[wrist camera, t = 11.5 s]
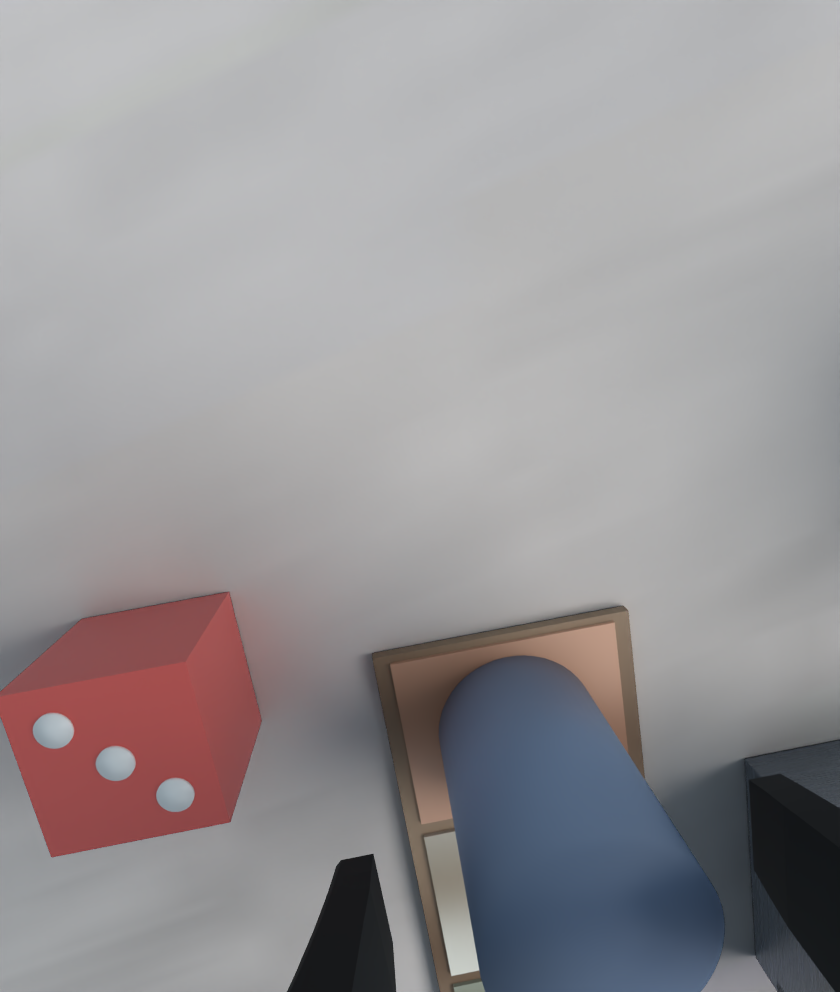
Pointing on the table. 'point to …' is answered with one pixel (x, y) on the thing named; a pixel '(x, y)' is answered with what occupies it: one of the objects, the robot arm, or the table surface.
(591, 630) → the game track
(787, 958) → the dome housing
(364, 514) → the table surface
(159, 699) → the red die
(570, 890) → the blue-grey cylinder
